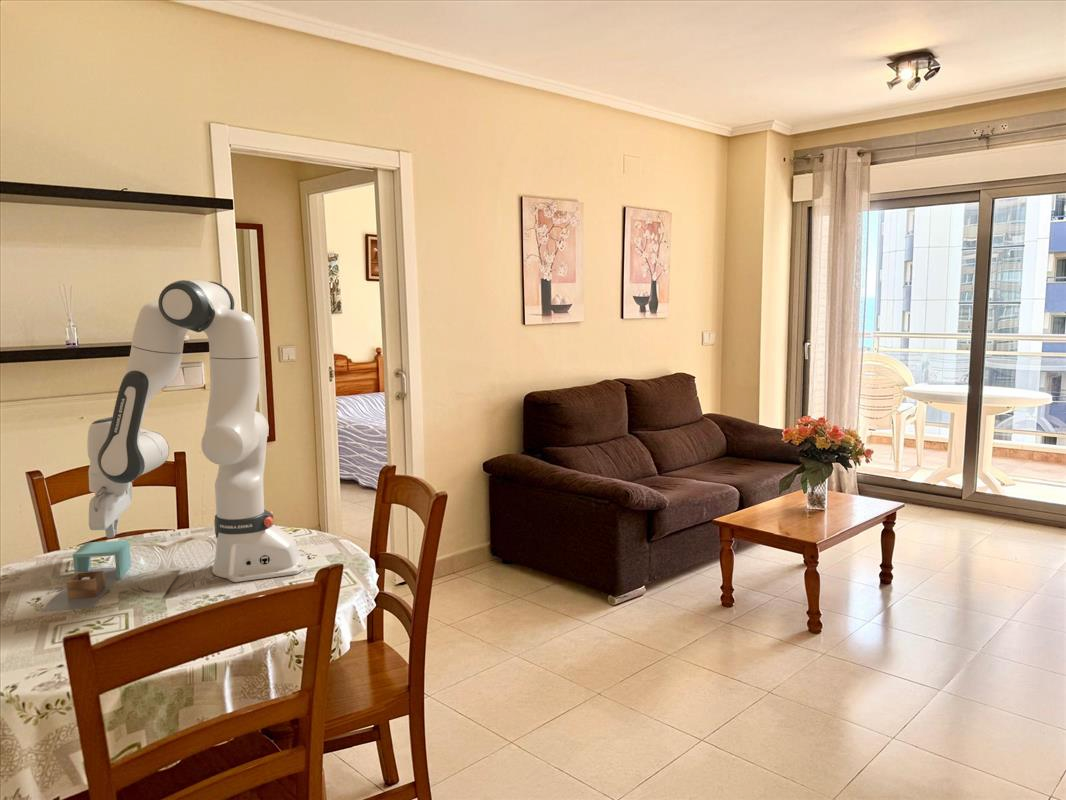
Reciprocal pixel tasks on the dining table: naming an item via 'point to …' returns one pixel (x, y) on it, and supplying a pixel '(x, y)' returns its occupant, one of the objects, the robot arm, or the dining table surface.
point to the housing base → (81, 603)
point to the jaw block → (85, 584)
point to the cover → (103, 549)
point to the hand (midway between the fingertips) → (111, 536)
